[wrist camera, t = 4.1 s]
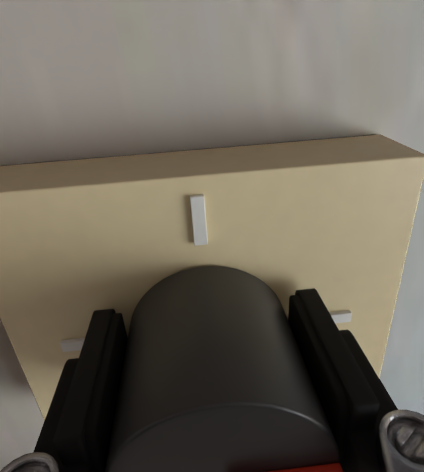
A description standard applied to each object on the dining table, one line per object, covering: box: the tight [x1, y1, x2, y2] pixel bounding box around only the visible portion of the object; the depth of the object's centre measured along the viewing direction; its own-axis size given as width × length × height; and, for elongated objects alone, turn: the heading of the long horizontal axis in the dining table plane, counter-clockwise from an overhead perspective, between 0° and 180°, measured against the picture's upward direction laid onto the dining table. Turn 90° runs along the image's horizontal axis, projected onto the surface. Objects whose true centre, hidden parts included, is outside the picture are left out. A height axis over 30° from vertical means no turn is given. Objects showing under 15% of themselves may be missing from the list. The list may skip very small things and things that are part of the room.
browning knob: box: [105, 266, 343, 472], centre depth 9 cm, size 5×5×5 cm
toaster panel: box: [0, 135, 424, 420], centre depth 12 cm, size 12×10×3 cm
